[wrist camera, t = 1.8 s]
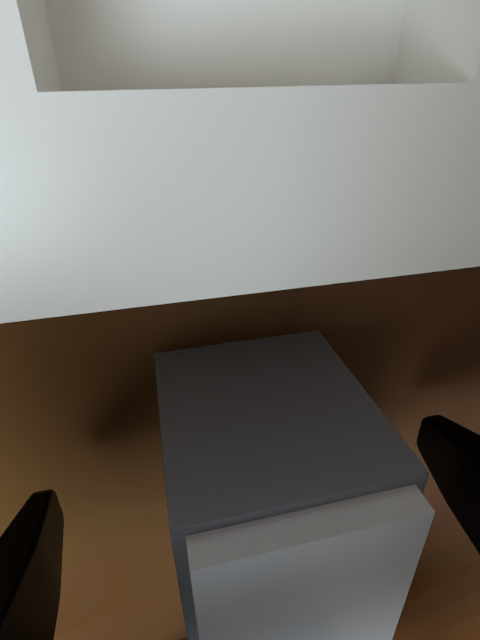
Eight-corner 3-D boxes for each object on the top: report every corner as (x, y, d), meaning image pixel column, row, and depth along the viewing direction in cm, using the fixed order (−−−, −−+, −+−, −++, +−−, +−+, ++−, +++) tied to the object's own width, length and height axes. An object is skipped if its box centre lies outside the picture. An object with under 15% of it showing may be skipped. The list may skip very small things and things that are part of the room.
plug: (305, 468, 13) (393, 659, 8) (174, 495, 12) (199, 720, 8) (317, 328, 10) (450, 500, 6) (153, 351, 9) (172, 566, 5)
